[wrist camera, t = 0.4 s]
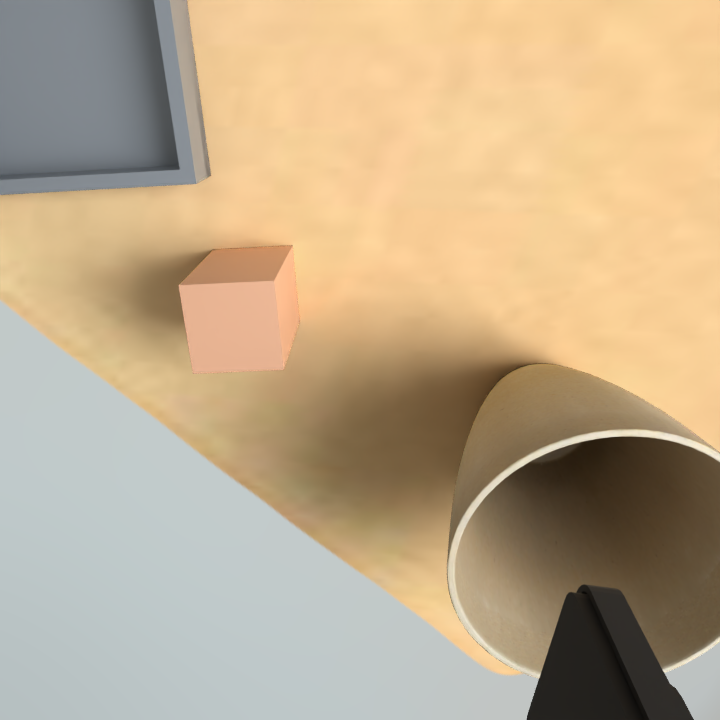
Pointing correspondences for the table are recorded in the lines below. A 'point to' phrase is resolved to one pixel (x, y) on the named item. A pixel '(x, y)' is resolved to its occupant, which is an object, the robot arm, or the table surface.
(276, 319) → the terracotta block
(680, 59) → the table surface
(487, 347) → the table surface
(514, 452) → the plant pot
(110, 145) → the tray
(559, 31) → the table surface
